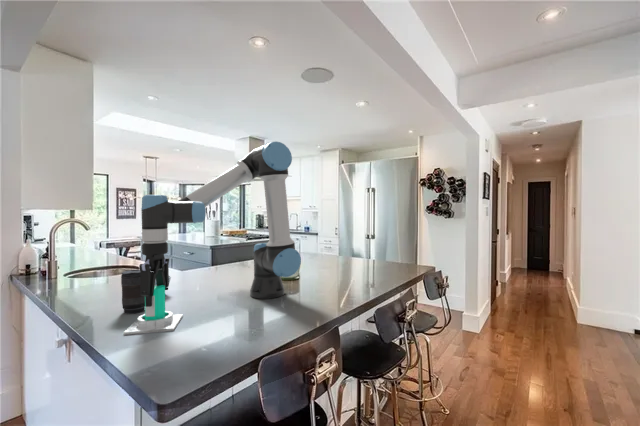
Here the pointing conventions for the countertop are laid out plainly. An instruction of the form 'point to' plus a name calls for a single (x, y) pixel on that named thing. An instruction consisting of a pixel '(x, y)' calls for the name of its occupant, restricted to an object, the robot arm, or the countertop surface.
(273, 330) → the countertop surface
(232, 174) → the robot arm
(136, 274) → the camera lens
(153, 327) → the duct flange
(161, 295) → the candle
